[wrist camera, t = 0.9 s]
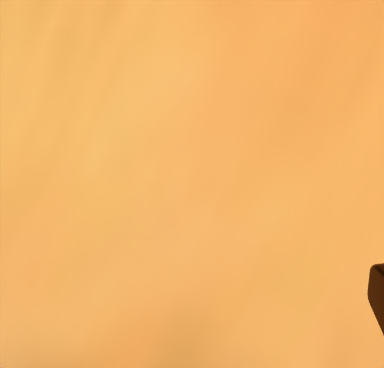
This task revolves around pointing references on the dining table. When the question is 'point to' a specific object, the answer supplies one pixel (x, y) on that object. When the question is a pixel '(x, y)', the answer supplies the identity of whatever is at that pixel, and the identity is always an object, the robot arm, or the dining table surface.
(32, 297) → the dining table surface
